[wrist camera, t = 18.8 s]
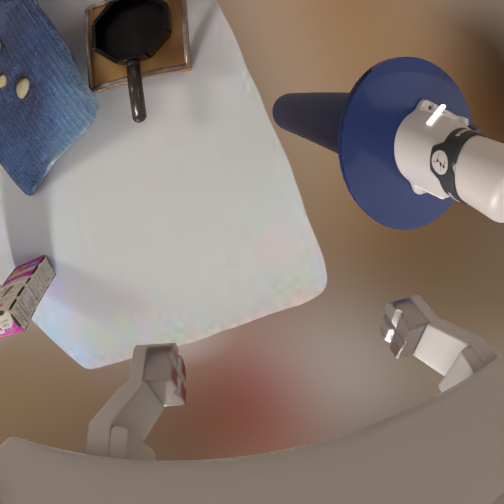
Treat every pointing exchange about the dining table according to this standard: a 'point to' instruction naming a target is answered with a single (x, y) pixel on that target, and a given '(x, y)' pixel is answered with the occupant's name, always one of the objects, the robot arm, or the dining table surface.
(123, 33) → the pan
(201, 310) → the dining table surface
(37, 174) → the blue piece
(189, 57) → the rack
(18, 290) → the candy bar box
